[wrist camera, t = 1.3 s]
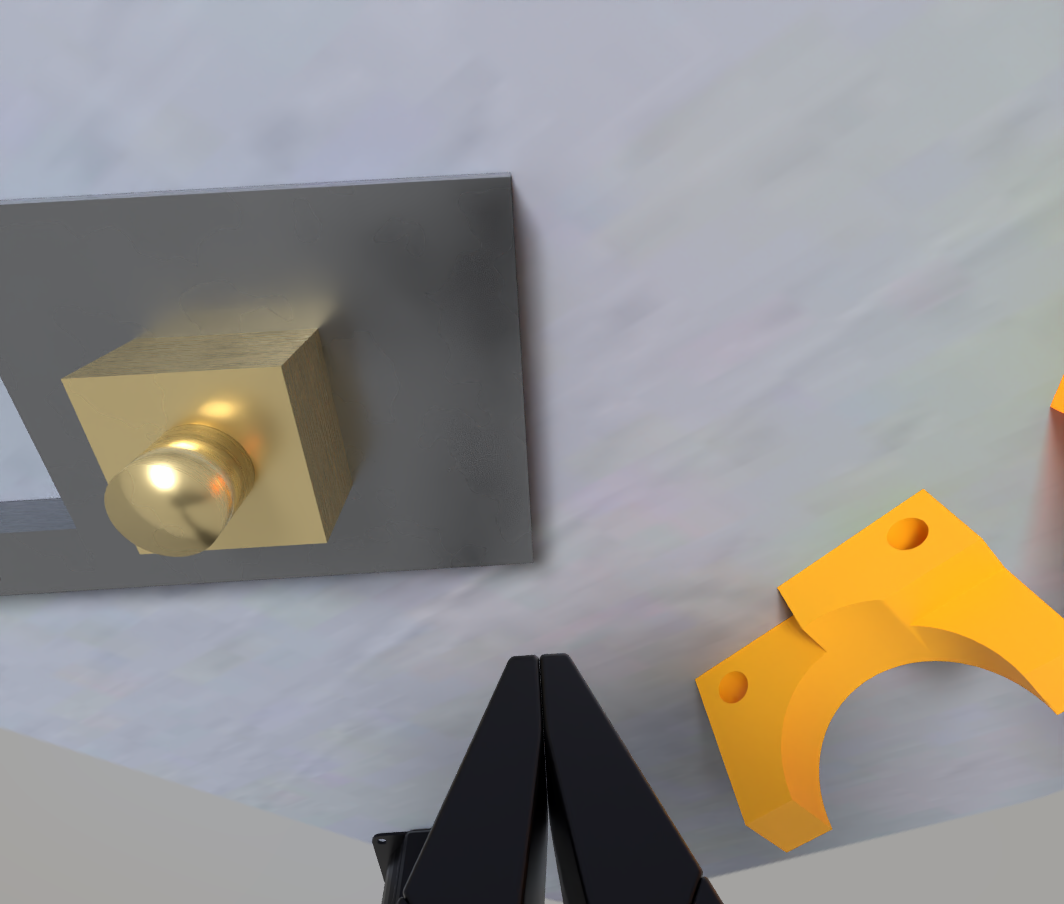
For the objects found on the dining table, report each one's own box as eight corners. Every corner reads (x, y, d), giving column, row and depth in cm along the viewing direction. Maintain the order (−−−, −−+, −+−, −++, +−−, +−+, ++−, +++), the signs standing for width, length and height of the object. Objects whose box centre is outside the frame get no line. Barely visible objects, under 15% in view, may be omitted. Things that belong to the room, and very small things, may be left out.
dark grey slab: (531, 528, 22) (533, 566, 20) (-121, 568, 22) (-183, 610, 20) (510, 172, 16) (510, 176, 14) (-372, 220, 16) (-492, 231, 14)
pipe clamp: (920, 486, 22) (1064, 608, 16) (971, 550, 24) (1120, 682, 18) (669, 657, 26) (715, 804, 20) (728, 703, 27) (786, 852, 22)
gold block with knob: (352, 484, 19) (304, 593, 14) (192, 494, 18) (93, 606, 14) (317, 328, 16) (246, 400, 12) (134, 339, 16) (-7, 415, 12)
